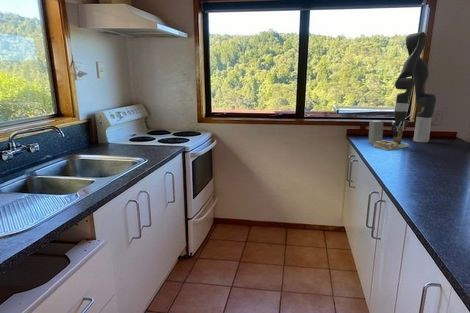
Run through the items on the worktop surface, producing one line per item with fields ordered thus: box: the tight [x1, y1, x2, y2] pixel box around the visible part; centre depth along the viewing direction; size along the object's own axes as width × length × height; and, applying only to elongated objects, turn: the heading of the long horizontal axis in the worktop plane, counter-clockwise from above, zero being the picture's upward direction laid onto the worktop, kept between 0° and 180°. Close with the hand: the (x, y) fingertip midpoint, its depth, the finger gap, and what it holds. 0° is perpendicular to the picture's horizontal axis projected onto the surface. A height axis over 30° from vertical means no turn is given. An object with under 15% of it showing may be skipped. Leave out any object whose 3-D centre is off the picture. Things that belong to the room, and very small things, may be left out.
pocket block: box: [373, 139, 399, 151], centre depth 207 cm, size 10×10×4 cm
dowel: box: [392, 126, 403, 145], centre depth 210 cm, size 4×4×12 cm
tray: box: [397, 142, 410, 149], centre depth 212 cm, size 10×10×2 cm
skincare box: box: [368, 119, 384, 145], centre depth 219 cm, size 8×7×16 cm
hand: (397, 136), depth 211 cm, fingers closed on dowel, 4 cm apart
